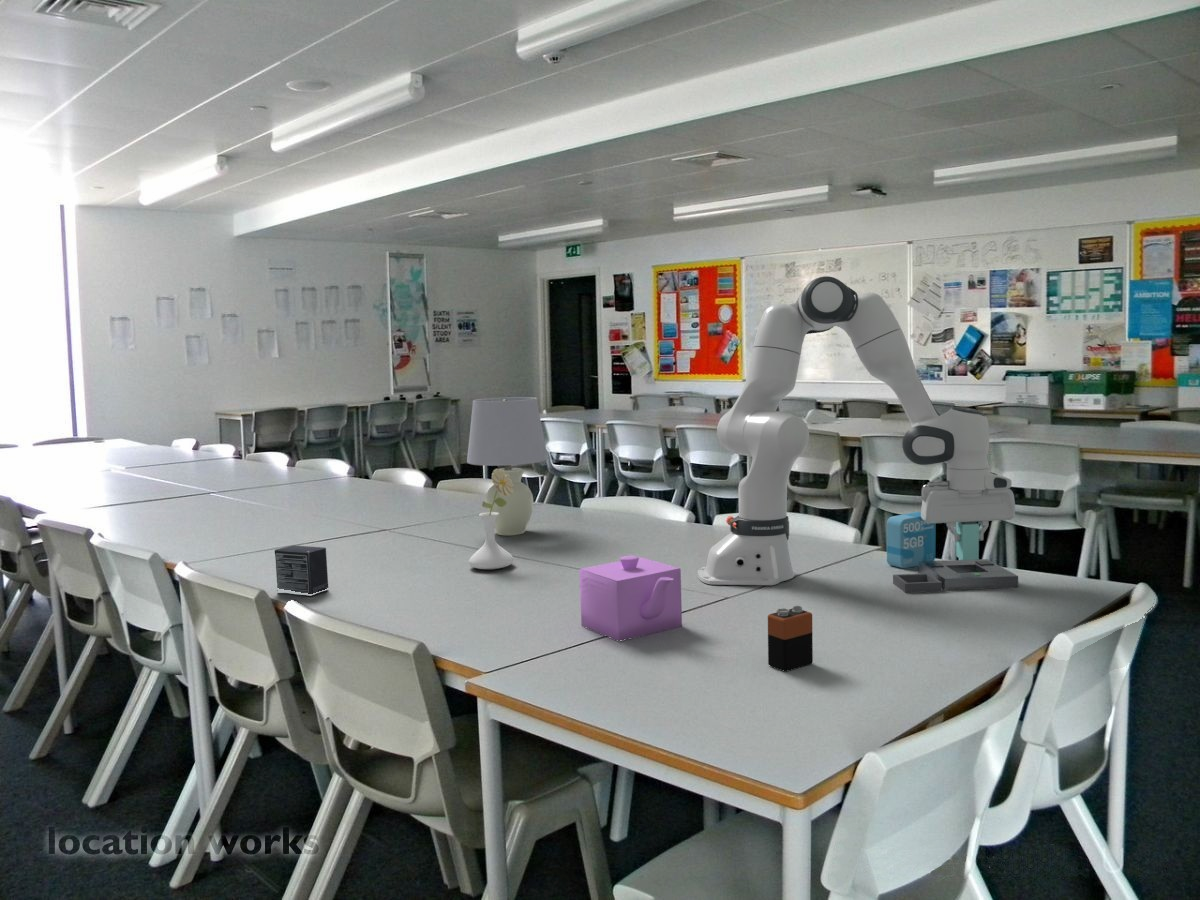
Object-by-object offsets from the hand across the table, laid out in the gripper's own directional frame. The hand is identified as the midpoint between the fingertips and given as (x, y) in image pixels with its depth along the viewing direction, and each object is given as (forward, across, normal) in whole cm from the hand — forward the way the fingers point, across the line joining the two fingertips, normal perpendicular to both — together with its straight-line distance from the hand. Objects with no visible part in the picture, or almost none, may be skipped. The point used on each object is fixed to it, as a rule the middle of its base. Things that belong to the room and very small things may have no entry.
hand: (967, 540), depth 213 cm
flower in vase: (+8, -109, +30) cm, 113 cm away
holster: (+9, -13, -5) cm, 17 cm away
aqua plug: (+4, 0, 0) cm, 4 cm away
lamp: (+8, -108, +73) cm, 130 cm away
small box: (+8, -152, +12) cm, 153 cm away
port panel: (+9, 0, 0) cm, 9 cm away
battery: (+8, -52, -51) cm, 73 cm away
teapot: (+8, -77, -26) cm, 82 cm away
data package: (+9, -7, +16) cm, 19 cm away
